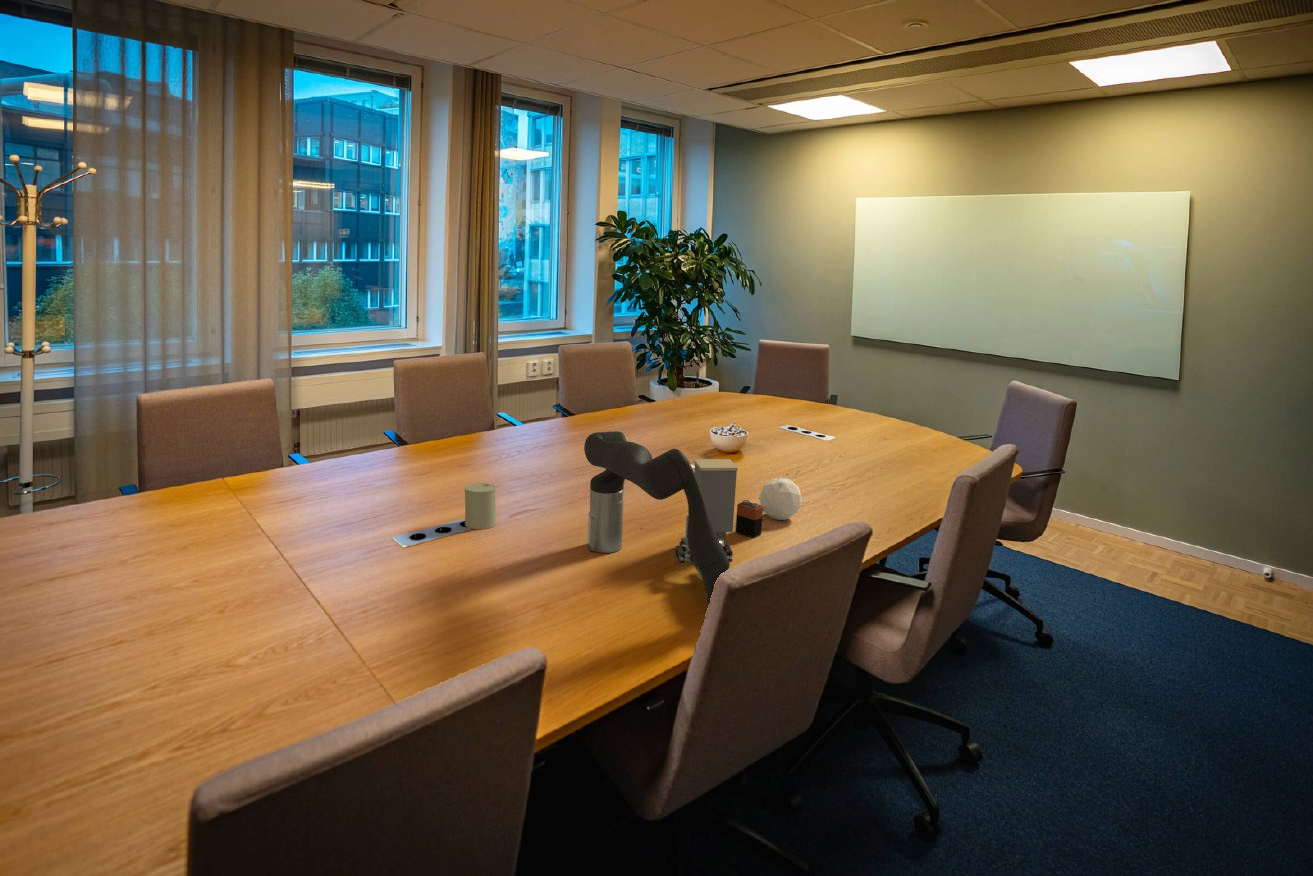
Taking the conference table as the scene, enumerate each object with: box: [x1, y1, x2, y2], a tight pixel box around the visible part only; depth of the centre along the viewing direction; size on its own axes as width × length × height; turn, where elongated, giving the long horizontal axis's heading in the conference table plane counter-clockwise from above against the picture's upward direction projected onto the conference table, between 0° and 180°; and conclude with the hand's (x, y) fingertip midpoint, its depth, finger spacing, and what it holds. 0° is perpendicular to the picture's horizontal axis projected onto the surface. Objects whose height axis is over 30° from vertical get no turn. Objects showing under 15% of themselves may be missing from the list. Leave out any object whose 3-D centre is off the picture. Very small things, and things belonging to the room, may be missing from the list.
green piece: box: [680, 515, 692, 563], centre depth 222 cm, size 4×12×12 cm, turn 10°
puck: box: [718, 538, 725, 546], centre depth 228 cm, size 5×5×2 cm
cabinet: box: [693, 458, 739, 544], centre depth 226 cm, size 10×8×25 cm
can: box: [464, 482, 497, 530], centre depth 238 cm, size 9×9×12 cm
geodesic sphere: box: [758, 476, 803, 521], centre depth 254 cm, size 14×14×14 cm
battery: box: [735, 499, 764, 538], centre depth 240 cm, size 4×7×10 cm, turn 48°
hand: (697, 543), depth 214 cm, fingers open, 8 cm apart
